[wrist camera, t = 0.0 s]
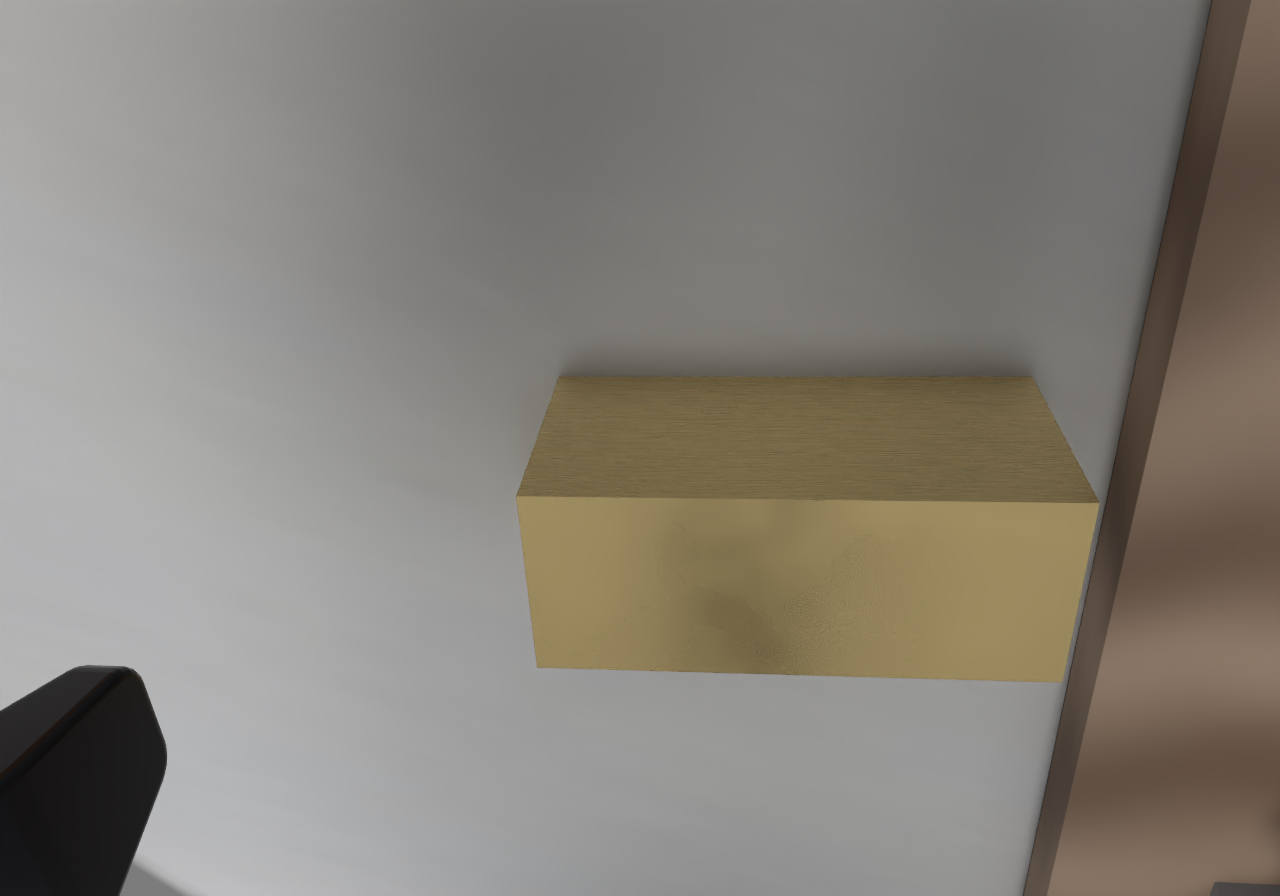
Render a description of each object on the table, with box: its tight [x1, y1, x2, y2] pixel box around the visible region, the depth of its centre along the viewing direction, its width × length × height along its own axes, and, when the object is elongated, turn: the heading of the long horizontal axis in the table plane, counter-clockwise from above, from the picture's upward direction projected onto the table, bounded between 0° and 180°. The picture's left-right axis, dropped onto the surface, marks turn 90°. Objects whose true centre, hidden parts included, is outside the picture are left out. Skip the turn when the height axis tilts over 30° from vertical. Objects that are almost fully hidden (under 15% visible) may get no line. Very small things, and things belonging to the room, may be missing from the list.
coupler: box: [516, 377, 1100, 682], centre depth 21 cm, size 10×4×5 cm, turn 93°
